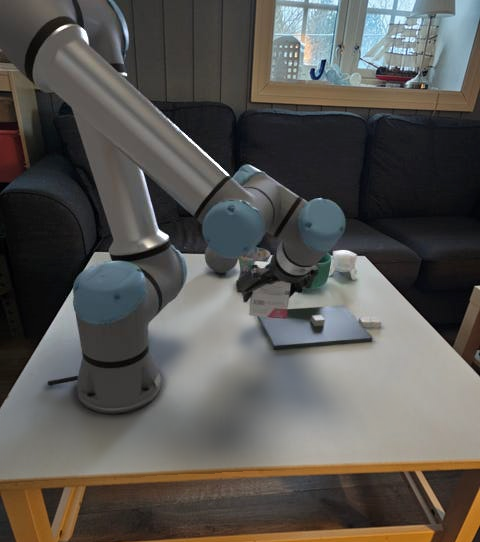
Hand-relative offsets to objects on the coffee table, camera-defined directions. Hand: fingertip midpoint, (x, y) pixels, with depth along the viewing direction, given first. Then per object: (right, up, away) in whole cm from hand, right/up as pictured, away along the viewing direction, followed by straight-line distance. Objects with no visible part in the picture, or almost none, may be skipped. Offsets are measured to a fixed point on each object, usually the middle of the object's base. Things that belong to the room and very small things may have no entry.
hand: (265, 295), depth 101 cm
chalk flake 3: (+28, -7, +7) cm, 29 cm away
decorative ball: (-12, +9, +30) cm, 33 cm away
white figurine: (+26, +8, +33) cm, 43 cm away
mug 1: (-2, +4, +22) cm, 23 cm away
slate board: (+12, -8, +4) cm, 14 cm away
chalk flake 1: (+13, -7, +4) cm, 15 cm away
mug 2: (+11, +5, +25) cm, 28 cm away
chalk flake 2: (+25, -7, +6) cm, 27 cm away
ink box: (0, -4, -1) cm, 4 cm away
